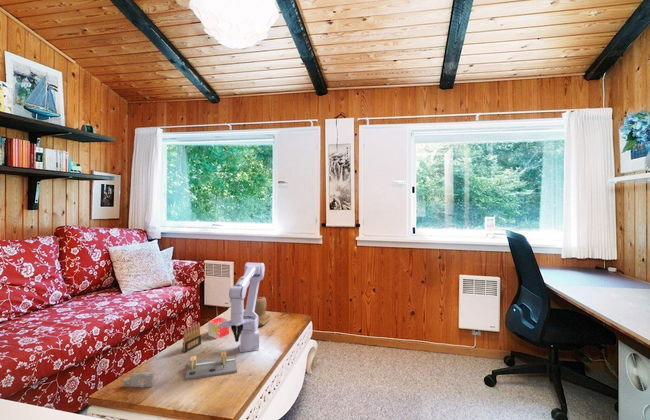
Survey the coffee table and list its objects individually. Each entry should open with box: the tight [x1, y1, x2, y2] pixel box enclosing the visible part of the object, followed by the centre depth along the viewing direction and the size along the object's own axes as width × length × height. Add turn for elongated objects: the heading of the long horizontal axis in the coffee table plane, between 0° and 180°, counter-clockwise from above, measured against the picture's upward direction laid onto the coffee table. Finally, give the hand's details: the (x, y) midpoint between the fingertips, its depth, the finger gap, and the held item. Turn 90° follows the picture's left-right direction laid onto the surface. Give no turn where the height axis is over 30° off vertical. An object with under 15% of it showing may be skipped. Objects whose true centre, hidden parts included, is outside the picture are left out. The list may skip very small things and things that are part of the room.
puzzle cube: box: [207, 316, 230, 340], centre depth 179 cm, size 8×8×8 cm
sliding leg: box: [220, 351, 227, 368], centre depth 146 cm, size 2×8×3 cm, turn 19°
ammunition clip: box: [181, 321, 202, 354], centre depth 163 cm, size 11×2×12 cm, turn 157°
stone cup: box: [254, 296, 271, 327], centre depth 198 cm, size 15×12×15 cm
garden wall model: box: [122, 371, 156, 388], centre depth 130 cm, size 12×2×6 cm, turn 91°
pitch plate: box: [185, 354, 238, 381], centre depth 144 cm, size 21×14×5 cm, turn 109°
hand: (236, 340), depth 149 cm, fingers closed
